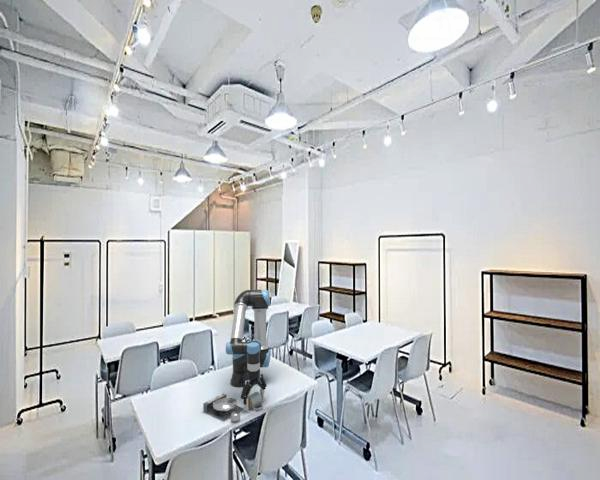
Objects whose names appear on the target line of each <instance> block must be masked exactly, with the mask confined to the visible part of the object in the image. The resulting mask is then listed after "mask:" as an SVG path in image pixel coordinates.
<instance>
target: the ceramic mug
mask: <svg viewBox="0 0 600 480" xmlns="http://www.w3.org/2000/svg"><path fill="white" fill-rule="evenodd" d="M247 398H248V410H249V409H253V410H254V411H257V412H260V411H261V410H262V409H263V400H262V396H261V394H260V391H255V392H253V393H251V394H249V395H248V397H247ZM259 406H261V407H260V408H257V407H259Z"/></svg>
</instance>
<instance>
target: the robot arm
mask: <svg viewBox="0 0 600 480" xmlns="http://www.w3.org/2000/svg"><path fill="white" fill-rule="evenodd" d="M270 306H271V297H270V292H269V291H268V289H246V290H243V292H241V293H240V294H239V295H238V296H237V297H236V298H235V301H234V304H233V309H234V313H233V320H232V328H231V334H230V341H227V342H226V344H225V354H227V355H232V358H231V359H232V374H231V378H230V385H231V386H232V387H235V388H242V391H241V394H240V399H241V400H243V401H242V402H243V403H242V404H243V408H244V410H247V411H248V410H249V408H248V398H247V397H248V396H249V395H250V392H251V390H252V389H253V387H255V385H258V386H259V393H260V394H261V396H262V401H265V390H267V389H266V388H267V387H268V386H267V383H266V380H265V378H264V374H263V373H261V368H262V369H263V368H268V367H269V365H270V362H271V356H272V355H271V352H272V349H270V348H269V346H268V345H267V311H268V310H269V307H270ZM248 307H251V310H252V311H253V315H254V317H253V318H254V319H253V321H254V324H253V325H254V326H253V328H254V330H253V331H254V332H253V333H254V334H253V337H254V338H253V340H252V341H243V337H244V328H245V319H246V312H247V310H248Z"/></svg>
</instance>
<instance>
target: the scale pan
mask: <svg viewBox="0 0 600 480" xmlns="http://www.w3.org/2000/svg"><path fill="white" fill-rule="evenodd" d="M236 405H237V406H238V400H237V398H233V397H226V398H221V399H218V400H217V401H215V402H214V403H213V408H214V409H215V410H218V411H227V410H230V409H233V408H234V407H236Z"/></svg>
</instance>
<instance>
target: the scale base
mask: <svg viewBox="0 0 600 480" xmlns="http://www.w3.org/2000/svg"><path fill="white" fill-rule="evenodd" d="M221 398H227V394H226V393H221V394H219V395H217V396H215V397H213V398H211V399H209V400H208V401H205V402H204V403H202V404H203V405H202V406H203V407H202V409H203V413H204V414H207V415H209V416H211V417H213V418H216V419H218V420H220V421H222V422H226V421H227V420H229V419H231V413H232V412H234V411H239V412H240V413H241V412H242V411H244V410H245V409H244V407H241V406H240V405H238V404H237V405H236V407H234V408H233V409H230V410H227V411H218V410H215V409H214V408H213V403H214V402H215V401H217V400H218V399H221Z"/></svg>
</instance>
